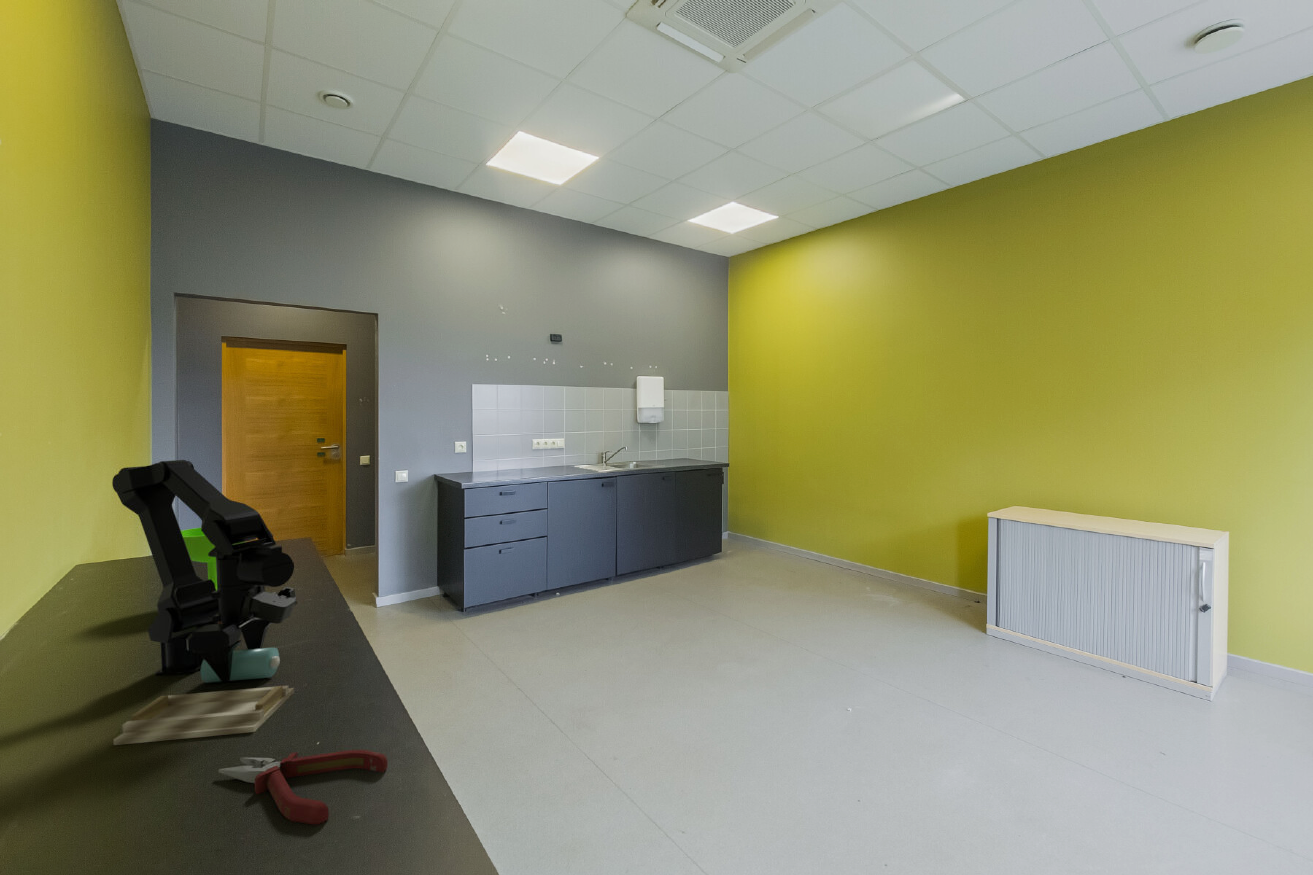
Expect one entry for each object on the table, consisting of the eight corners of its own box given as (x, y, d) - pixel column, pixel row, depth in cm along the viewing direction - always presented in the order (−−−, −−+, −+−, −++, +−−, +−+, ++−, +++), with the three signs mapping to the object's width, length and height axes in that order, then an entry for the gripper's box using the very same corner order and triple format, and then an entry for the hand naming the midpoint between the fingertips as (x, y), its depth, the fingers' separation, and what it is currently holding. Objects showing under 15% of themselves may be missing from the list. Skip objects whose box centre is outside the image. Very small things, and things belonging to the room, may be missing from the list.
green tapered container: (220, 610, 137) (216, 536, 137) (154, 611, 137) (151, 537, 137) (266, 590, 153) (263, 524, 153) (208, 591, 153) (205, 525, 153)
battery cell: (201, 688, 97) (199, 659, 96) (219, 674, 102) (217, 647, 101) (270, 682, 98) (268, 654, 98) (284, 668, 103) (283, 642, 103)
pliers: (270, 748, 79) (269, 730, 78) (392, 769, 73) (391, 749, 73) (182, 803, 68) (181, 782, 67) (318, 832, 62) (317, 809, 62)
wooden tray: (113, 745, 79) (112, 726, 79) (172, 702, 91) (172, 687, 91) (254, 731, 82) (253, 714, 82) (294, 692, 94) (293, 677, 94)
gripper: (259, 594, 91) (263, 689, 92) (310, 565, 110) (314, 644, 110) (182, 599, 90) (186, 696, 90) (248, 569, 108) (251, 649, 109)
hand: (241, 669), depth 100 cm, fingers open, 9 cm apart
